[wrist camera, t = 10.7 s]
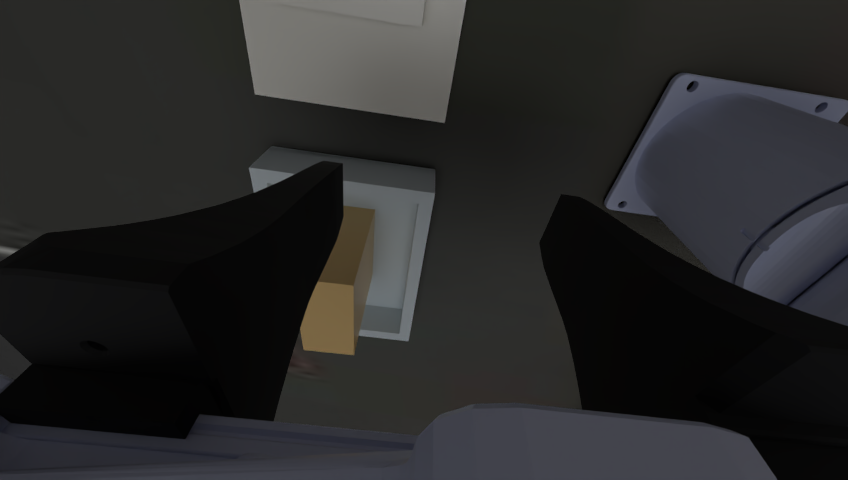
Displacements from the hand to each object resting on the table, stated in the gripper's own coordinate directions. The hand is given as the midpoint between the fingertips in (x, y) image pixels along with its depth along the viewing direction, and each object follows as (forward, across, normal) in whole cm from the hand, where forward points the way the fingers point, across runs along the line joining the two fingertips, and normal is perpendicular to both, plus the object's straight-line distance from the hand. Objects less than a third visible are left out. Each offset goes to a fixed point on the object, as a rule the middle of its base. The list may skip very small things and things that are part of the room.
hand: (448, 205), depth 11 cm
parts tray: (+9, +5, +10) cm, 15 cm away
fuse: (+9, +5, +9) cm, 14 cm away
